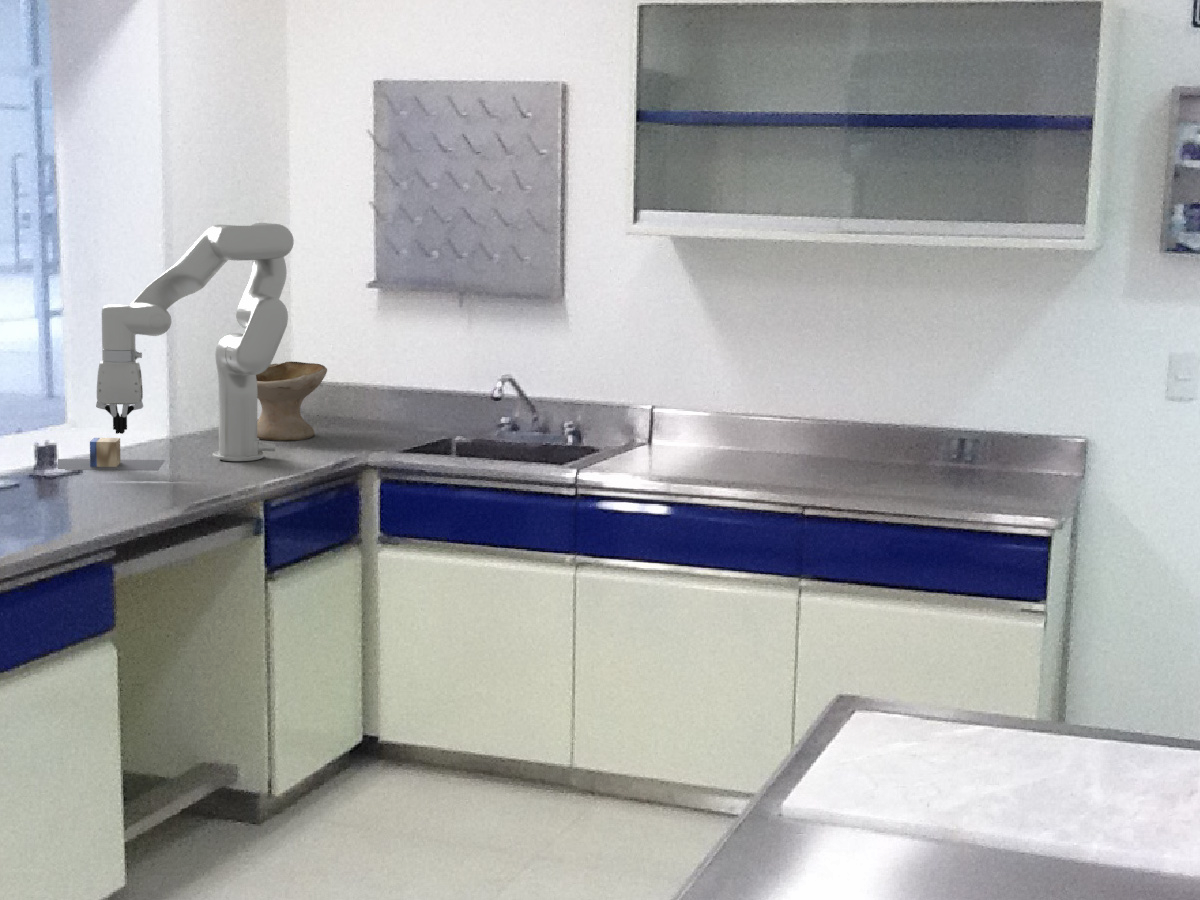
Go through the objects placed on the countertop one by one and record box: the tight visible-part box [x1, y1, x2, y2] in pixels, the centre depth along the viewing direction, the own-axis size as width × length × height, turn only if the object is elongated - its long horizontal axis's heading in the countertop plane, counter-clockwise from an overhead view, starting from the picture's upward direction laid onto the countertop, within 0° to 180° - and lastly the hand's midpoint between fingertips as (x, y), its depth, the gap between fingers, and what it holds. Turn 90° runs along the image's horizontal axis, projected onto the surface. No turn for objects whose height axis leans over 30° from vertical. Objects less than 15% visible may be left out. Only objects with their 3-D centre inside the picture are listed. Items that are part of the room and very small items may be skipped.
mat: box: [57, 458, 166, 471], centre depth 334 cm, size 26×14×1 cm, turn 100°
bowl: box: [256, 361, 328, 442], centre depth 388 cm, size 26×25×20 cm
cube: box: [89, 437, 121, 467], centre depth 333 cm, size 6×6×6 cm
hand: (120, 432), depth 333 cm, fingers closed
